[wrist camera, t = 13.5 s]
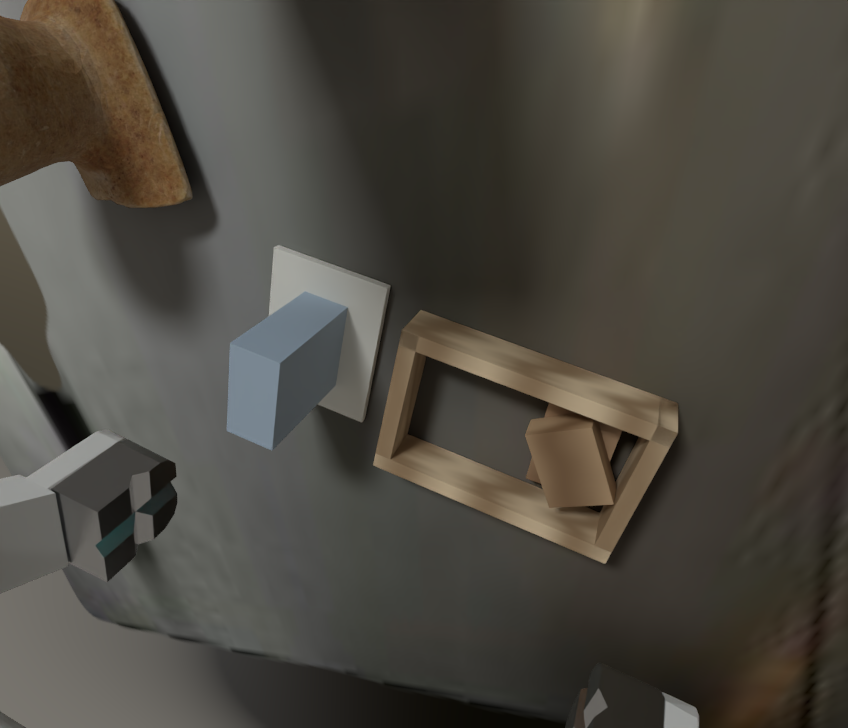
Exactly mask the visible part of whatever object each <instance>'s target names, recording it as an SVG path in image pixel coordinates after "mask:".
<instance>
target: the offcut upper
mask: <svg viewBox="0 0 848 728" xmlns="http://www.w3.org/2000/svg"><path fill="white" fill-rule="evenodd" d="M525 437H526V440H527V443H528V446H529V449H530V452H531V455H532V458H533V461H534V464H535V467H536V470H537V473H538V476H539V479H540V482H541V485H542V488H543V491H544V494H545V497H546V500H547V503H548V506H549V508H558V507H577V506H596V505H614V499H615V492H616V483H615V479H614V476H613V472H612V469H611V465H610V461H609V458H608V454H607V451H606V447H605V444H604V440H603V436H602V433H601V429H600V426H599V422H598V421H597V420H594V419H591V418H589V417H586V416H583V415H581V414H570V415H562V416H554V417H546V418H538V419H531V421H530V423H529V426H528V429H527V431H526V434H525Z"/></svg>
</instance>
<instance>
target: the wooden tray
mask: <svg viewBox="0 0 848 728" xmlns="http://www.w3.org/2000/svg"><path fill="white" fill-rule="evenodd" d="M427 356H428V357H431V358H433V359H436V360H438V361H441V362H444V363H446V364H449V365H452V366H454V367H457V368H460V369H462V370H465V371H467V372H470V373H473V374H475V375H478V376H481V377H483V378H486V379H489V380H491V381H494V382H496V383H499V384H502V385H504V386H507V387H510V388H512V389H515V390H518V391H520V392H523V393H525V394H528V395H531V396H533V397H536V398H539V399H541V400H544V401H547V402H549V403H552V404H554V405H557V406H560V407H562V408H565V409H568V410H570V411H573V412H576V413H578V414H581V415H583V416H586V417H589V418H591V419H594V420H597V421H599V422H602V423H605V424H607V425H610V426H613V427H615V428H618V429H620V430H623V431H626V432H628V433H631V434H634V435H636V436H639V438H638V439H637V441H636V443H635V445H634V447H633V449H632V451H631V453H630V455H629V457H628V459H627V461H626V463H625V465H624V467H623V469H622V471H621V473H620V475H619V476H618V478H617V480H616V482H615V483H616V492H615V499H614V505H604V506H603V508H602V510H601V512H597V511H595V510H592V509H590V508H587V507H585V506H577V507H558V508H549V506H548V503H547V500H546V497H545V494H544V491H543V489H541V488H538V487H536V486H534V485H531V484H529V483H526V482H524V481H521V480H519V479H516V478H514V477H512V476H509V475H507V474H504V473H502V472H499V471H497V470H494V469H492V468H490V467H487V466H485V465H482V464H480V463H477V462H475V461H472V460H470V459H468V458H465V457H463V456H460V455H458V454H455V453H453V452H450V451H448V450H446V449H443V448H441V447H438V446H436V445H433V444H431V443H428V442H426V441H423V440H421V439H419V438H416V437H414V436H411V435H409V434H408V430H409V426H410V422H411V418H412V414H413V410H414V406H415V402H416V398H417V393H418V389H419V385H420V381H421V377H422V373H423V369H424V365H425V361H426V357H427ZM677 434H678V403H676V402H673V401H670V400H667V399H665V398H662V397H659V396H656V395H654V394H651V393H648V392H645V391H643V390H640V389H637V388H634V387H632V386H629V385H626V384H623V383H621V382H618V381H615V380H612V379H610V378H607V377H604V376H601V375H599V374H596V373H593V372H590V371H588V370H585V369H582V368H579V367H577V366H574V365H571V364H569V363H566V362H563V361H560V360H558V359H555V358H552V357H549V356H547V355H544V354H541V353H538V352H536V351H533V350H530V349H527V348H525V347H522V346H519V345H516V344H514V343H511V342H508V341H505V340H503V339H500V338H497V337H494V336H492V335H489V334H486V333H483V332H481V331H478V330H475V329H472V328H470V327H467V326H464V325H461V324H459V323H456V322H453V321H450V320H448V319H445V318H442V317H439V316H437V315H434V314H431V313H428V312H426V311H423V310H420V311H419V312H418V313H417V314H416V316H415V317H414V318H413V319H412V320H411V321H410V322H409V323H408V324H407V325H406V326H405V327H404V328H403V329H402V332H401V337H400V342H399V346H398V351H397V356H396V360H395V365H394V370H393V374H392V379H391V384H390V388H389V393H388V398H387V402H386V407H385V412H384V416H383V421H382V426H381V430H380V435H379V440H378V444H377V449H376V454H375V458H374V463H373V466H376V467H378V468H381V469H383V470H385V471H388V472H390V473H392V474H395V475H397V476H399V477H402V478H404V479H406V480H409V481H411V482H413V483H416V484H418V485H421V486H423V487H425V488H428V489H430V490H432V491H435V492H437V493H439V494H442V495H444V496H446V497H449V498H451V499H453V500H456V501H458V502H461V503H463V504H465V505H468V506H470V507H472V508H475V509H477V510H479V511H482V512H484V513H486V514H489V515H491V516H493V517H496V518H498V519H500V520H503V521H505V522H508V523H510V524H512V525H515V526H517V527H519V528H522V529H524V530H526V531H529V532H531V533H533V534H536V535H538V536H540V537H543V538H545V539H548V540H550V541H552V542H555V543H557V544H559V545H562V546H564V547H566V548H569V549H571V550H573V551H576V552H578V553H580V554H583V555H585V556H588V557H590V558H592V559H595V560H597V561H599V562H602V563H604V564H605V563H606V562H607V560H608V558H609V556H610V554H611V553H612V551H613V549H614V547H615V545H616V544H617V542H618V540H619V538H620V536H621V535H622V533H623V531H624V529H625V527H626V526H627V524H628V522H629V520H630V518H631V517H632V515H633V513H634V511H635V509H636V508H637V506H638V504H639V502H640V500H641V499H642V497H643V495H644V493H645V491H646V490H647V488H648V486H649V484H650V482H651V481H652V479H653V477H654V475H655V473H656V472H657V470H658V468H659V466H660V464H661V463H662V461H663V459H664V457H665V455H666V454H667V452H668V450H669V448H670V446H671V445H672V443H673V441H674V439H675V438H676V436H677Z"/></svg>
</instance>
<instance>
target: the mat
mask: <svg viewBox="0 0 848 728" xmlns="http://www.w3.org/2000/svg"><path fill="white" fill-rule="evenodd" d="M390 287H391V285H388V284H386V283H383V282H380V281H377V280H375V279H372V278H369V277H366V276H363V275H361V274H358V273H355V272H352V271H349V270H347V269H344V268H341V267H338V266H336V265H333V264H330V263H327V262H324V261H322V260H319V259H316V258H313V257H310V256H308V255H305V254H302V253H299V252H297V251H294V250H291V249H288V248H285V247H283V246H280V245H278V246H276V247H274V254H273V267H272V281H271V294H270V307H269V316H270V315H271V314H273V313H274V312H276V311H277V310H279V309H280V308H282V307H283V306H285V305H286V304H287V303H289V302H290V301H292V300H293V299H295V298H296V297H298V296H299V295H300V294H302V293H303V292H305V291H306V292H308V293H311V294H314V295H316V296H319V297H322V298H324V299H327V300H330V301H332V302H335V303H338V304H341V305H343V306H346V307H348V309H347V316H346V322H345V329H344V335H343V342H342V348H341V354H340V361H339V367H338V374H337V380H336V386H335V387H334V388H333V389H332V390H331V391H330V392H329V393H328V394H327V395H326V396H325V397H324V398H323V399H322V400H321V401H320V402H319V403H318V405H320V406H323V407H325V408H327V409H330V410H332V411H335V412H337V413H340V414H342V415H344V416H347V417H349V418H352V419H354V420H357V421H359V422H363V421H364V419H365V416H366V411H367V406H368V401H369V396H370V391H371V385H372V380H373V375H374V370H375V365H376V360H377V354H378V349H379V344H380V339H381V334H382V329H383V323H384V318H385V313H386V308H387V303H388V298H389V292H390Z"/></svg>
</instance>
